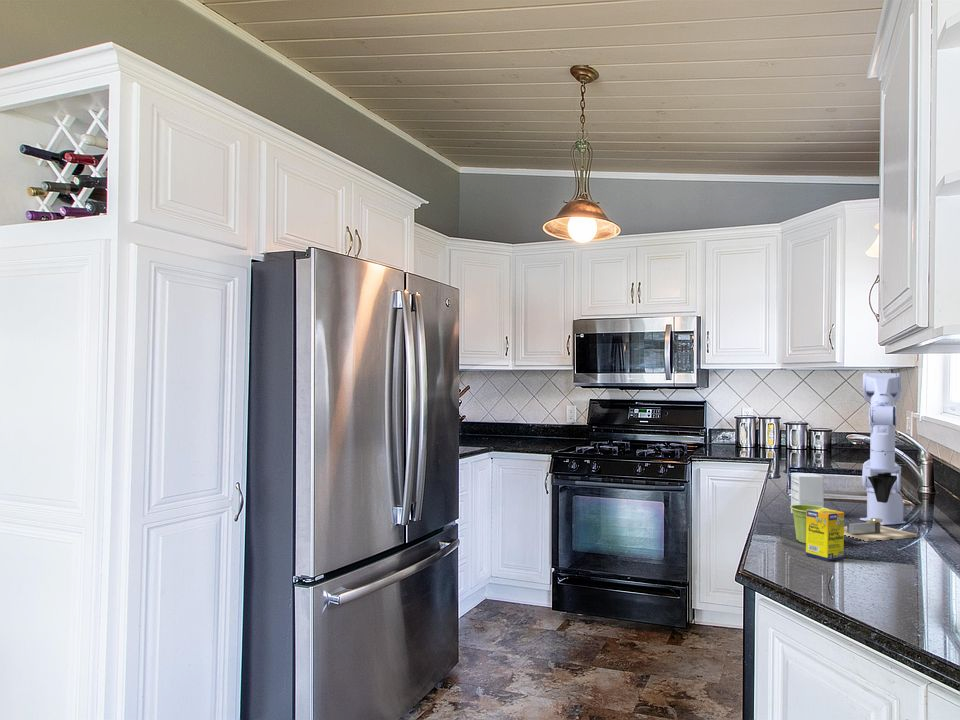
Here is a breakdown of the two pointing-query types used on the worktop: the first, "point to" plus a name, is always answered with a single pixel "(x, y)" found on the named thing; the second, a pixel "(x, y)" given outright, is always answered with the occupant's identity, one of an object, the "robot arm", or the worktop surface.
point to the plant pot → (801, 520)
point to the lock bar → (864, 526)
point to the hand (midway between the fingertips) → (882, 502)
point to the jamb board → (880, 533)
